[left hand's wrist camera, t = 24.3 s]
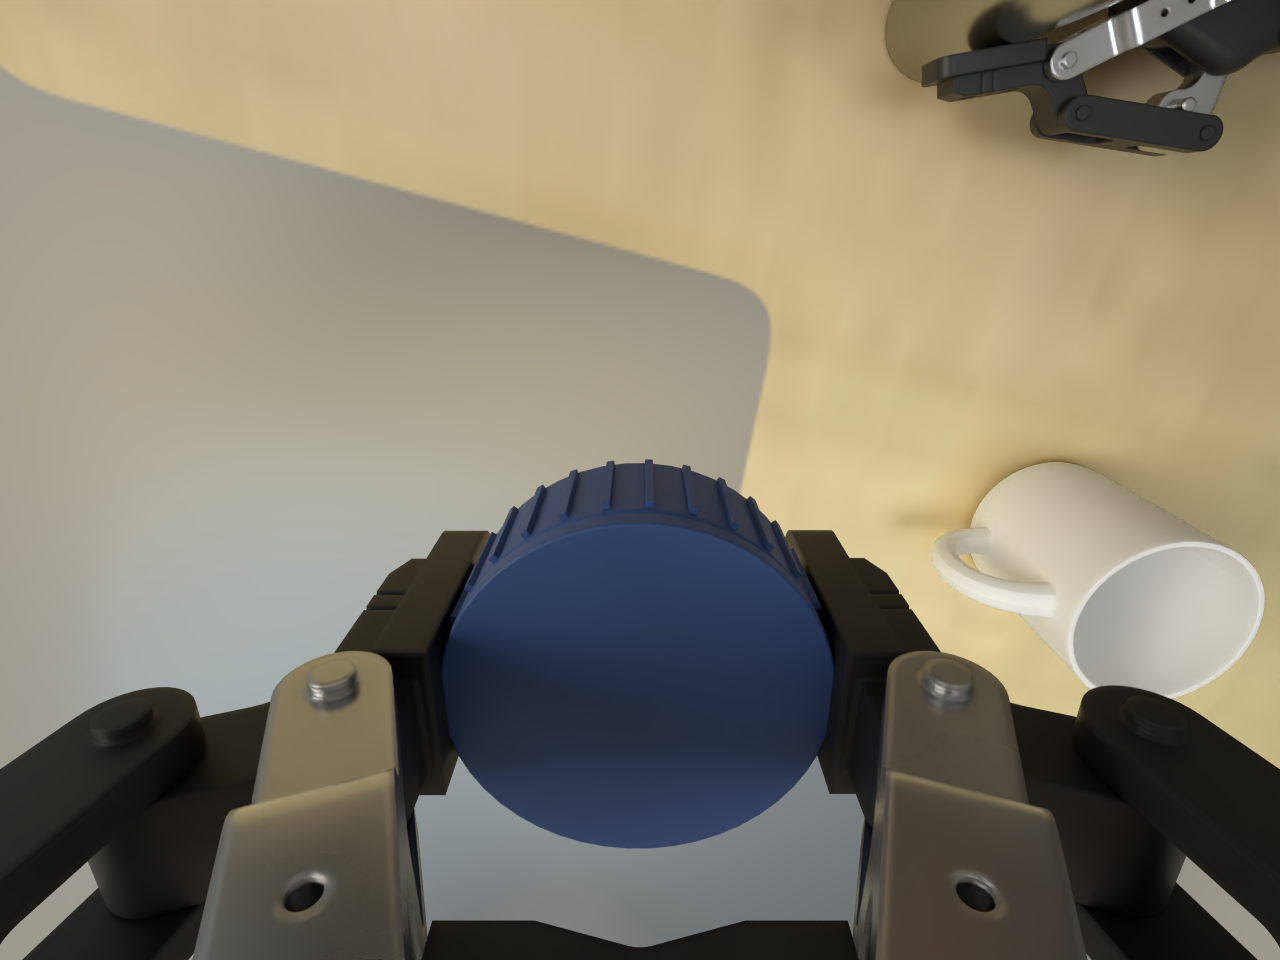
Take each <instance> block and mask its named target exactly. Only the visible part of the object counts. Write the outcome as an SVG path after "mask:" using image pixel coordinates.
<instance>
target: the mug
mask: <svg viewBox="0 0 1280 960" xmlns="http://www.w3.org/2000/svg"><path fill="white" fill-rule="evenodd" d="M964 554H971V555H972V558H973V560H974V562H975V564H976V566H977V568H978V570H979V571H978V570H975V569H974V568H972V567H970V566H968V565H967V564H966V563H964V562H963V561H962V560H961V559H960V558H959V556H960V555H964ZM931 561H932V564H933V567H934V568H935V570H936V572H937V573H938V575H939V576H940V577H941V578H942V579H943V580H944V581H945V582H946V583H947V584H948V585H950V586H951V587H952V588H954V589H955V590H957V591H958V592H960V593H961V594H963V595H965V596H967V597H969V598H971V599H972V600H975V601H977V602H979V603H982V604H984V605H987V606H990V607H993V608H996V609H999V610H1003V611H1007V612H1012V613H1017V614H1018V615H1019V616H1020V617H1021V618H1022V619H1023V620H1024V621H1025V622H1026V623H1027V624H1028V625H1029V626H1030V627H1031V628H1032V630H1033V631H1034V632H1035V633H1036V634H1037V635H1038V636H1039V637H1040V638H1041V639H1042V640H1043V641H1044V642H1045V643H1046V644H1047V646H1048V647H1049V648H1050V649H1051V650H1052V651H1053V652H1054V653H1055V654H1056V655H1057V656H1058V657H1059V658H1060V659H1061V660H1062V661H1063V663H1064V664H1065V665H1066V666H1067V667H1068V668H1069V669H1070V670H1071V671H1072V672H1073V673H1074V674H1075V675H1076V676H1077V677H1078V679H1079V680H1081V681H1082V682H1083V683H1084V684H1085V685H1086V686H1087V687H1088V688H1090V689H1093V688H1096V687H1100V686H1108V685H1120V686H1128V687H1134V688H1139V689H1144V690H1147V691H1151V692H1154V693H1157V694H1160V695H1162V696H1165V697H1168V698H1170V699H1172V698H1175V697H1178V696H1181V695H1185V694H1187V693H1189V692H1192V691H1194V690H1196V689H1198V688H1200V687H1202V686H1204V685H1206V684H1208V683H1209V682H1211V681H1212V680H1214V679H1215V678H1217V677H1218V676H1220V675H1221V674H1222V673H1224V672H1225V671H1226V670H1227V669H1229V668H1230V667H1231V666H1232V665H1233V664H1234V663H1235V662H1236V661H1237V660H1238V659H1239V658H1240V657H1241V655H1242V654H1243V653H1244V652H1245V651H1246V649H1247V648H1248V646H1249V645H1250V643H1251V642H1252V640H1253V639H1254V637H1255V635H1256V633H1257V631H1258V629H1259V626H1260V623H1261V620H1262V617H1263V612H1264V601H1265V597H1264V589H1263V585H1262V582H1261V579H1260V577H1259V575H1258V573H1257V572H1256V570H1255V568H1254V567H1253V566H1252V565H1251V563H1250V562H1249V561H1248V560H1247V559H1246V558H1245V557H1244V556H1242V555H1241V554H1240V553H1238V552H1237V551H1235V550H1233V549H1231V548H1230V547H1228V546H1226V545H1224V544H1223V543H1221V542H1219V541H1217V540H1215V539H1214V538H1212V537H1210V536H1208V535H1207V534H1205V533H1203V532H1201V531H1200V530H1198V529H1196V528H1194V527H1193V526H1191V525H1189V524H1187V523H1186V522H1184V521H1182V520H1180V519H1179V518H1177V517H1175V516H1173V515H1172V514H1170V513H1168V512H1166V511H1164V510H1163V509H1161V508H1159V507H1157V506H1156V505H1154V504H1152V503H1150V502H1149V501H1147V500H1145V499H1143V498H1142V497H1140V496H1138V495H1136V494H1135V493H1133V492H1131V491H1129V490H1128V489H1126V488H1124V487H1122V486H1121V485H1119V484H1117V483H1115V482H1113V481H1112V480H1110V479H1108V478H1106V477H1105V476H1103V475H1101V474H1099V473H1097V472H1095V471H1093V470H1091V469H1088V468H1086V467H1083V466H1080V465H1076V464H1071V463H1064V462H1049V463H1042V464H1037V465H1033V466H1029V467H1026V468H1024V469H1021V470H1019V471H1017V472H1015V473H1013V474H1011V475H1009V476H1008V477H1006V478H1005V479H1003V480H1002V481H1001V482H999V483H998V484H997V485H996V486H994V487H993V488H992V489H991V490H990V491H989V492H988V494H987V495H986V496H985V497H984V499H983V500H982V501H981V503H980V504H979V506H978V508H977V510H976V512H975V514H974V516H973V519H972V522H971V526H970V528H966V529H959V530H955V531H951V532H948V533H946V534H944V535H942V536H941V537H940V538H938V539H937V540H936V541H935V543H934V545H933V547H932V549H931Z"/></svg>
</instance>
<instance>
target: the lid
mask: <svg viewBox="0 0 1280 960" xmlns="http://www.w3.org/2000/svg"><path fill="white" fill-rule="evenodd" d="M819 608H821V605H820V603H819V601H818V599H817V597H816V595H815V593H814V590H813V588H812V586H811V584H810V582H809V580H808V578H807V575H806V573H805V571H804V569H803V567H802V565H801V563H800V560H799V558H798V556H797V554H796V552H795V550H794V548H792V549H790V547H789V545H788V543H787V541H786V539H785V536H784V534H783V532H782V530H781V528H780V525H779V524H778V523H777V521H776V520H775V521H773V522H772V523H771V522H770V521H769V520H768V518H767V517H766V516H765V515H764V514H763V513H762V512H761V511H760V510H759V508H758V506H757V503H756V501H755V499H753V498H752V497H751V496H750V497H749V498H748V499H746V498H744V497H743V496H742V495H740V494H739V493H737V492H736V491H735V490H733V489H731V488H729V487H727V485H726V482H725V480H724V479H722V478H720V477H719V478H718V479H717V481H716V480H714V479H712V478H709V477H707V476H704V475H701V474H699V473H696V472H694V471H691V468H690V466H687V465H683V467H682V469H681V468H677V467H673V466H667V465H658V464H653V460H647V459H646V460H645V463H625V464H618V465H615V464H614V461H609V462H607V464H606V466H602V467H599V468H595V469H591V470H587V471H583V472H580V473H578V471H577V470H573V471H571V472H570V474H569V477H567V478H565V479H562V480H560V481H558V482H556V483H554V484H552V485H551V486H549V487H547V488H545V487H544V485H541V486H540V487H538V488H537V490H536V493H535V495H534V496H533V497H532V498H531V499H529V500H528V501H527V502H525V503H524V504H523V505H522V506H521V507H520V508H519V509H517V508H516V507H515V506H514V507H512V508H511V509H510V511H509V513H508V515H507V518H506V520H505V522H504V524H503V526H502V528H501V529H500V530H499V532H498V533H497V534H495V533H493V532H491V534H490V536H489V537H488V539H487V541H486V544H485V546H484V548H483V550H482V552H481V554H480V556H479V558H478V561H477V562H476V564H475V566H474V568H473V570H472V573H471V575H470V577H469V579H468V581H467V583H466V585H465V587H464V589H463V592H462V594H461V596H460V598H459V600H458V602H457V604H456V606H455V608H454V611H453V613H452V615H451V617H450V620H449V623H452V624H453V626H452V629H451V631H450V634H449V637H448V640H447V642H446V645H445V648H444V652H443V658H442V664H441V669H442V679H443V687H444V695H445V703H446V711H447V718H448V726H449V733H450V739H451V741H452V743H453V745H454V747H455V749H456V751H457V753H458V755H459V757H460V758H461V760H462V761H463V763H464V764H465V766H466V767H467V769H468V770H469V772H470V773H471V774H472V775H473V777H474V778H475V779H476V780H477V781H478V782H479V783H480V785H481V786H482V787H483V788H484V789H485V790H486V791H487V792H488V793H490V794H491V795H492V796H493V797H494V798H495V799H496V800H497V801H498V802H500V803H501V804H502V805H504V806H505V807H507V808H508V809H510V810H511V811H512V812H514V813H515V814H517V815H518V816H520V817H522V818H523V819H525V820H527V821H529V822H531V823H533V824H534V825H536V826H538V827H541V828H543V829H545V830H548V831H550V832H553V833H555V834H557V835H560V836H563V837H567V838H570V839H573V840H577V841H580V842H585V843H590V844H595V845H600V846H607V847H618V848H658V847H668V846H676V845H681V844H686V843H691V842H696V841H699V840H703V839H706V838H709V837H712V836H715V835H719V834H721V833H723V832H726V831H728V830H730V829H733V828H735V827H737V826H740V825H742V824H743V823H745V822H747V821H749V820H750V819H752V818H754V817H756V816H758V815H759V814H761V813H762V812H764V811H765V810H766V809H768V808H769V807H771V806H772V805H773V804H775V803H776V802H777V801H779V800H780V799H781V798H782V797H783V796H784V795H785V794H786V793H787V792H788V791H789V790H791V789H792V788H793V787H794V786H795V784H796V783H797V782H798V781H799V780H800V778H801V777H802V776H803V775H804V774H805V773H806V771H807V770H808V769H809V767H810V765H811V764H812V762H813V761H814V759H815V758H816V756H817V755H818V753H819V751H820V749H821V747H822V744H823V742H824V740H825V737H826V731H827V724H828V716H829V707H830V699H831V691H832V683H833V674H834V660H833V655H832V650H831V646H830V643H829V641H828V638H827V636H826V633H825V630H824V628H823V625H822V623H821V621H820V619H819V616H818V614H817V612H816V610H817V609H819Z"/></svg>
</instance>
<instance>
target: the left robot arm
mask: <svg viewBox="0 0 1280 960" xmlns="http://www.w3.org/2000/svg"><path fill="white" fill-rule="evenodd" d="M489 536H490V533H489V532H488V531H444V532H443V533H442V534H441V536H440V538H439V539H438V541H437V542H436V544H435V546H434V547H433V549H432V551H431V552H430V554H429V555H428V557H427V559H411V560H409V561H408V562H406V563H405V564H403V565H402V566H400V567H399V568H397V569H396V570H394V571H393V572H391V573H390V574H389V575H388V576H387V578H386V579H385V581H384V582H383V584H382V585H381V586H380V588H379V589H378V591H377V595H374V596H373V598H372V599H371V601H370V602H369V604H368V605H367V609H366V610H364V611H363V612H362V614H361V615H360V616H359V618H358V619H357V621H356V622H355V624H354V625H353V627H352V628H351V629H350V631H349V632H348V634H347V635H346V637H345V638H344V640H343V641H342V642H341V644H340V645H339V647H338V648H337V650H336V651H335V652H334V653H333V654H328V655H325V656H322V657H319V658H316V659H313V660H311V661H309V662H306V663H305V664H303V665H301V666H299V667H297V668H296V669H294V670H293V671H291V672H290V673H289V674H287V675H286V676H285V677H284V678H283V679H282V680H281V681H280V682H279V683H278V684H277V686H276V688H275V689H274V691H273V694H272V697H271V701H270V702H268V703H265V704H262V705H258V706H254V707H250V708H245V709H240V710H235V711H231V712H225V713H220V714H216V715H211V716H206V717H201V718H200V716H199V712H198V709H197V705H196V702H195V700H194V697H193V696H192V695H191V694H190V693H188V692H186V691H184V690H181V689H178V688H170V687H157V688H149V689H143V690H138V691H134V692H130V693H127V694H123V695H120V696H117V697H115V698H112V699H109V700H107V701H105V702H103V703H100V704H98V705H96V706H94V707H92V708H91V709H89V710H87V711H85V712H84V713H82V714H80V715H79V716H77V717H76V718H74V719H73V720H71V721H70V722H68V723H67V724H65V725H64V726H63V727H61V728H60V729H58V730H57V731H55V732H54V733H52V734H51V735H49V736H48V737H47V738H45V739H44V740H42V741H41V742H39V743H38V744H36V745H35V746H33V747H32V748H31V749H29V750H28V751H26V752H25V753H23V754H22V755H20V756H19V757H17V758H16V759H15V760H13V761H12V762H10V763H9V764H7V765H6V766H4V767H3V768H1V769H0V944H1V942H2V941H3V940H4V938H5V937H6V936H7V935H8V934H9V932H10V931H11V930H12V929H13V928H14V927H15V926H16V925H17V924H18V923H19V922H20V921H22V920H23V919H24V918H25V917H26V916H27V915H28V914H29V913H31V912H32V911H33V910H34V909H35V908H36V907H37V906H38V905H39V904H41V903H42V902H43V901H44V900H45V899H46V898H47V897H48V896H49V895H51V894H52V893H53V892H54V891H55V890H56V889H57V888H58V887H59V886H61V885H62V884H63V883H64V882H65V881H66V880H67V879H68V878H69V877H71V876H72V875H73V874H74V873H75V872H76V871H77V870H78V869H80V868H81V867H82V866H83V865H84V864H85V863H86V862H87V861H88V863H89V865H90V868H91V870H92V873H93V875H94V877H95V880H96V882H97V885H98V887H99V888H98V889H96V890H95V891H94V892H93V893H92V894H91V895H90V896H89V897H88V898H87V899H86V900H85V901H84V902H83V903H82V904H81V905H80V906H79V907H77V908H76V909H75V910H74V911H73V912H72V913H71V914H70V915H69V916H68V917H67V918H66V919H65V920H64V921H63V922H62V923H61V924H60V925H59V926H57V927H56V928H55V929H54V930H53V931H52V932H51V933H50V934H49V935H48V936H47V937H46V938H45V939H44V940H43V941H42V942H41V943H40V944H38V945H37V946H36V947H35V948H34V949H33V950H32V951H31V952H30V953H29V954H28V955H27V956H26V957H25V958H24V959H23V960H189V958H190V957H191V956H192V955H193V954H194V955H193V959H192V960H1088V959H1087V955H1088V956H1089V957H1090V958H1091V959H1092V960H1257V959H1256V958H1255V957H1254V956H1253V955H1252V954H1251V953H1250V952H1249V951H1248V950H1247V949H1246V948H1245V947H1244V946H1243V945H1241V944H1240V943H1239V942H1238V941H1237V940H1236V939H1235V938H1234V937H1233V936H1232V935H1231V934H1230V933H1229V932H1228V931H1227V930H1226V929H1225V928H1224V927H1223V926H1221V925H1220V924H1219V923H1218V922H1217V921H1216V920H1215V919H1214V918H1213V917H1212V916H1211V915H1210V914H1209V913H1208V912H1207V911H1206V910H1205V909H1204V908H1203V907H1201V906H1200V905H1199V904H1198V903H1197V902H1196V901H1195V900H1194V899H1193V898H1192V897H1191V896H1190V895H1189V894H1188V893H1187V892H1186V891H1185V890H1184V889H1183V888H1181V887H1180V886H1179V885H1178V884H1177V883H1176V880H1177V878H1178V875H1179V873H1180V870H1181V868H1182V865H1183V863H1184V860H1185V858H1186V856H1187V857H1188V858H1189V859H1191V860H1192V861H1193V862H1194V863H1195V864H1196V865H1197V866H1198V867H1199V868H1200V869H1202V870H1203V871H1204V872H1205V873H1206V874H1207V875H1208V876H1209V877H1210V878H1212V879H1213V880H1214V881H1215V882H1216V883H1217V884H1218V885H1220V886H1221V887H1222V888H1223V889H1224V890H1225V891H1226V892H1227V893H1228V894H1229V895H1231V896H1232V897H1233V898H1234V899H1235V900H1236V901H1237V902H1238V903H1239V904H1241V905H1242V906H1243V907H1244V908H1245V909H1246V910H1247V911H1248V912H1249V913H1251V914H1252V915H1253V916H1254V917H1255V918H1256V919H1257V920H1258V921H1259V922H1260V923H1261V924H1262V925H1263V926H1264V927H1265V928H1266V929H1267V930H1268V931H1269V933H1270V934H1271V935H1272V936H1273V938H1274V939H1275V941H1276V942H1277V943H1278V945H1279V947H1280V769H1279V768H1277V767H1276V766H1274V765H1273V764H1271V763H1270V762H1268V761H1267V760H1265V759H1264V758H1263V757H1261V756H1260V755H1258V754H1257V753H1255V752H1254V751H1252V750H1251V749H1249V748H1248V747H1247V746H1245V745H1244V744H1242V743H1241V742H1239V741H1238V740H1236V739H1235V738H1233V737H1232V736H1231V735H1229V734H1228V733H1226V732H1225V731H1223V730H1222V729H1220V728H1219V727H1217V726H1216V725H1215V724H1213V723H1212V722H1210V721H1209V720H1207V719H1206V718H1204V717H1203V716H1201V715H1200V714H1198V713H1197V712H1195V711H1194V710H1192V709H1190V708H1188V707H1187V706H1185V705H1183V704H1181V703H1179V702H1177V701H1175V700H1172V699H1170V698H1168V697H1165V696H1162V695H1160V694H1157V693H1154V692H1151V691H1147V690H1144V689H1139V688H1134V687H1128V686H1120V685H1108V686H1100V687H1096V688H1093V689H1091V690H1089V691H1088V692H1087V693H1086V694H1085V695H1084V696H1083V698H1082V701H1081V704H1080V708H1079V711H1078V715H1077V717H1074V716H1069V715H1065V714H1060V713H1055V712H1050V711H1045V710H1040V709H1035V708H1031V707H1026V706H1022V705H1017V704H1013V703H1010V701H1009V697H1008V694H1007V691H1006V689H1005V688H1004V686H1003V684H1002V683H1001V682H1000V681H999V680H998V679H997V678H996V677H995V676H994V675H993V674H991V673H990V672H989V671H987V670H986V669H984V668H983V667H981V666H979V665H977V664H976V663H974V662H971V661H969V660H967V659H964V658H961V657H958V656H955V655H952V654H947V653H942V652H941V651H940V650H939V649H938V647H937V646H936V644H935V643H934V641H933V640H932V638H931V637H930V635H929V634H928V633H927V631H926V630H925V628H924V627H923V625H922V624H921V622H920V621H919V619H918V618H917V617H916V615H915V614H914V612H913V611H912V609H909V605H908V603H907V602H906V600H905V599H904V598H903V596H902V595H901V594H899V590H898V589H897V587H896V586H895V584H894V583H893V582H892V580H891V579H890V577H889V576H888V574H887V573H886V572H884V571H883V570H881V569H880V568H878V567H877V566H875V565H874V564H872V563H871V562H869V561H868V560H866V559H865V558H849V556H848V555H847V553H846V552H845V550H844V548H843V547H842V545H841V543H840V542H839V540H838V538H837V537H836V535H835V533H834V532H833V531H832V530H789V531H788V532H787V534H786V537H785V539H786V541H787V543H788V545H789V547H790V549H792V548H794V550H795V552H796V554H797V556H798V558H799V560H800V563H801V565H802V567H803V569H804V571H805V573H806V575H807V578H808V580H809V582H810V584H811V586H812V588H813V590H814V593H815V595H816V597H817V599H818V601H819V603H820V605H821V608H819V609H817V610H816V612H817V614H818V616H819V619H820V621H821V623H822V625H823V628H824V630H825V633H826V636H827V638H828V641H829V643H830V646H831V650H832V655H833V660H834V674H833V683H832V691H831V699H830V707H829V716H828V724H827V731H826V737H825V740H824V742H823V744H822V747H821V749H820V751H819V753H818V755H817V756H818V759H819V762H820V765H821V768H822V771H823V774H824V778H825V781H826V784H827V787H828V790H829V793H830V794H856V795H857V798H858V801H859V803H860V806H861V809H862V811H863V814H864V816H865V817H864V823H863V829H862V838H861V849H860V860H859V871H858V883H857V894H856V905H855V916H854V928H853V937H852V934H851V931H850V927H849V924H848V921H742V922H739V923H735V924H732V925H728V926H724V927H720V928H716V929H713V930H709V931H705V932H702V933H698V934H694V935H691V936H687V937H683V938H679V939H676V940H672V941H668V942H665V943H661V944H657V945H654V946H649V947H631V946H626V945H623V944H619V943H615V942H612V941H608V940H604V939H601V938H597V937H593V936H589V935H586V934H582V933H578V932H574V931H571V930H567V929H563V928H560V927H556V926H552V925H549V924H545V923H541V922H537V921H432V924H431V927H430V930H429V934H428V937H427V927H426V916H425V905H424V894H423V883H422V871H421V860H420V849H419V838H418V829H417V823H416V817H415V811H414V807H415V804H416V802H417V799H418V796H419V795H446V792H447V789H448V786H449V783H450V780H451V777H452V774H453V771H454V768H455V765H456V762H457V759H458V756H459V755H458V753H457V751H456V749H455V747H454V745H453V743H452V741H451V739H450V733H449V726H448V718H447V711H446V703H445V695H444V687H443V679H442V669H441V664H442V658H443V652H444V648H445V645H446V642H447V640H448V637H449V634H450V631H451V629H452V626H453V624H452V623H449V620H450V617H451V615H452V613H453V611H454V608H455V606H456V604H457V602H458V600H459V598H460V596H461V594H462V592H463V589H464V587H465V585H466V583H467V581H468V579H469V577H470V575H471V573H472V570H473V568H474V566H475V564H476V562H477V561H478V558H479V556H480V554H481V552H482V550H483V548H484V546H485V544H486V541H487V539H488V537H489ZM1086 954H1087V955H1086Z"/></svg>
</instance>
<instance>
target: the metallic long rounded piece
mask: <svg viewBox="0 0 1280 960" xmlns="http://www.w3.org/2000/svg"><path fill="white" fill-rule="evenodd" d="M1121 1H1123V0H894V1H893V3H892V5H891V7H890V10H889V13H888V16H887V21H886V29H885V38H886V46H887V49H888V53H889V55H890V58H891V60H892V61H893V63H894V65H895V66H896V67H897V68H898V70H900V71H901V72H902V73H903V74H904V75H906V76H907V77H909V78H911V79H914V80H917V81H922V66H923V65H925V64H927V63H929V62H931V61H933V60H935V59H937V58H940V57H943V56H947V55H952V54H957V53H963V52H968V51H974V50H980V49H985V48H991V47H997V46H1002V45H1008V44H1014V43H1021V42H1027V41H1031V40H1033V39H1035V38H1038V37H1040V36H1042V35H1045V34H1047V33H1049V32H1052V31H1054V30H1056V29H1059V28H1061V27H1063V26H1065V25H1068V24H1070V23H1072V22H1075V21H1077V20H1079V19H1082V18H1084V17H1086V16H1089V15H1091V14H1093V13H1095V12H1098V11H1100V10H1102V9H1105V8H1107V7H1109V6H1112V5H1114V4H1116V3H1118V2H1121Z"/></svg>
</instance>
